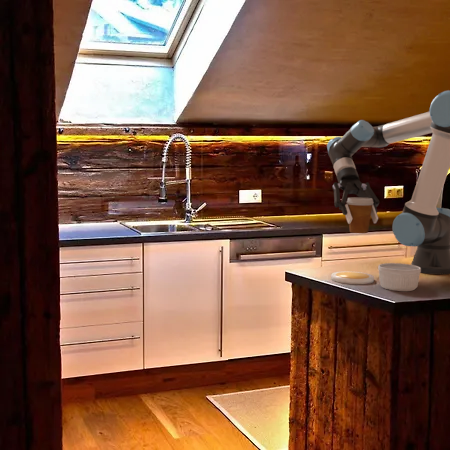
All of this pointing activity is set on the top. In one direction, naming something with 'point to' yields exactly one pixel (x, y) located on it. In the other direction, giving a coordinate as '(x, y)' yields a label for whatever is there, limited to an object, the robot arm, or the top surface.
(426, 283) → the top surface
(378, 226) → the top surface
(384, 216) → the top surface
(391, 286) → the ramekin
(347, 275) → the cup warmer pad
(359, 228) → the disposable coffee cup
